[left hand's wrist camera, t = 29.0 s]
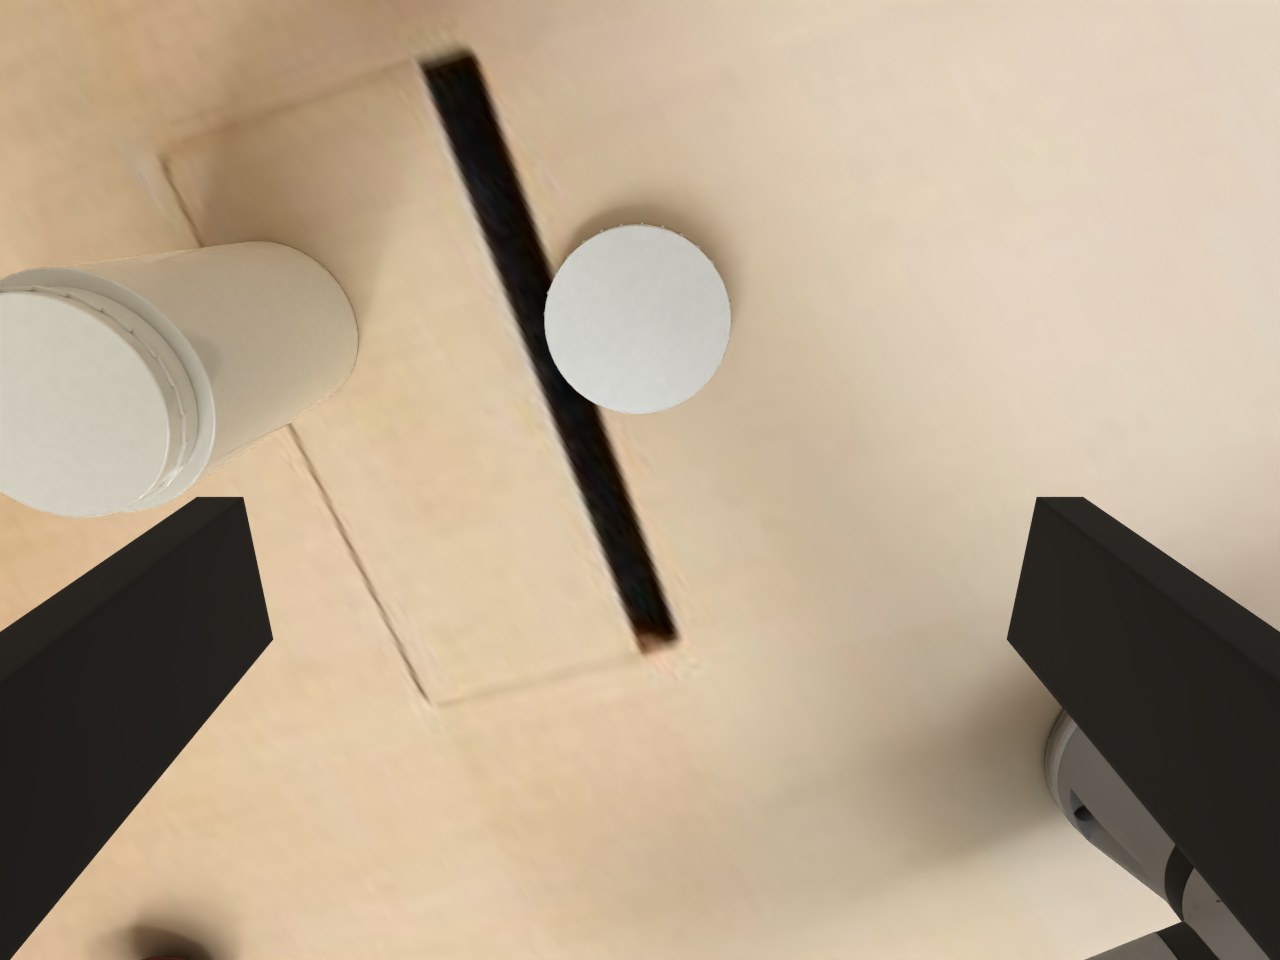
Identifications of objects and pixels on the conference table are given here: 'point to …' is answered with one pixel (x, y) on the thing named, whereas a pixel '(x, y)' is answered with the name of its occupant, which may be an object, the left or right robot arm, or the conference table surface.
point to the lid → (637, 319)
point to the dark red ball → (165, 958)
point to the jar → (159, 370)
